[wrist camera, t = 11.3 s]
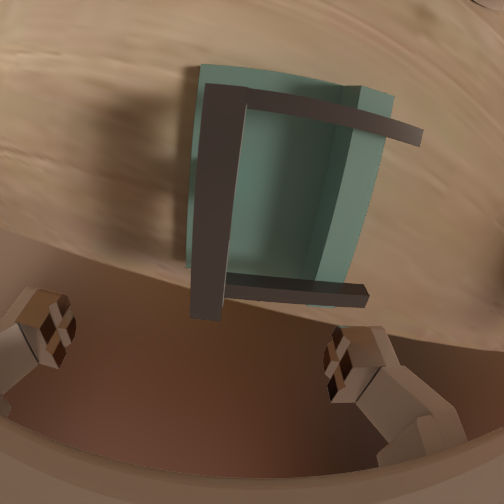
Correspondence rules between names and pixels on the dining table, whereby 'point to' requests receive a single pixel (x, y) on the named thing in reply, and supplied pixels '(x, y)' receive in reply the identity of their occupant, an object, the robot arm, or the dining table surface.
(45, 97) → the dining table surface
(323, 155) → the display stand
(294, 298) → the glasses frame
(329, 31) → the dining table surface
